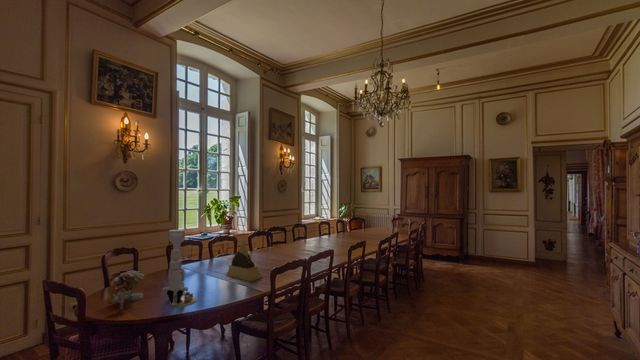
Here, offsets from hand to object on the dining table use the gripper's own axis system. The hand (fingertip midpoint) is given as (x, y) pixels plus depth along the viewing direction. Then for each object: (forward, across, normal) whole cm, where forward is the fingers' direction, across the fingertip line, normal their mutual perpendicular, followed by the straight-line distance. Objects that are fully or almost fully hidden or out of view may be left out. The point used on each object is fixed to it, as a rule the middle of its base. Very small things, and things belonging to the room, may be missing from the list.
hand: (175, 302), depth 196 cm
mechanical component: (+3, -30, -4) cm, 30 cm away
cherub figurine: (+3, -37, +16) cm, 40 cm away
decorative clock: (+3, +27, +66) cm, 71 cm away
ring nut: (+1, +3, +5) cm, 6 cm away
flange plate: (+2, +1, +9) cm, 9 cm away
